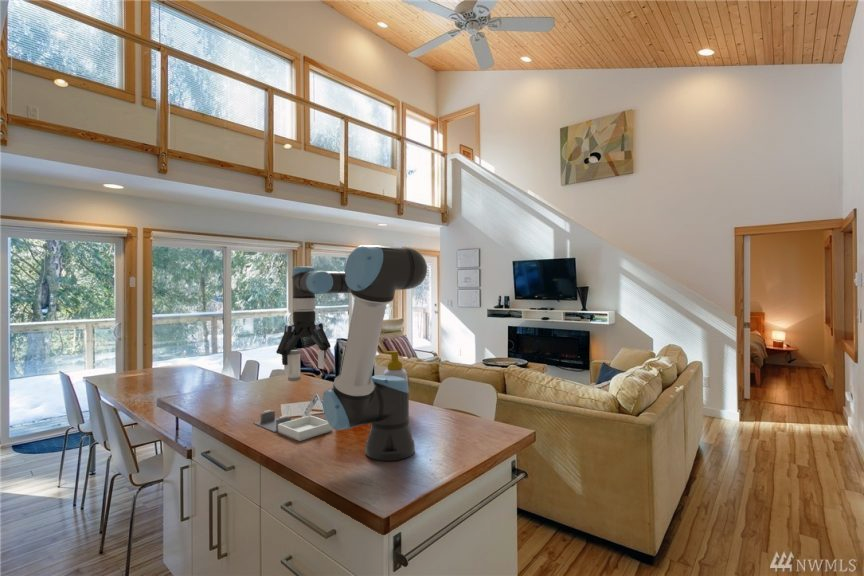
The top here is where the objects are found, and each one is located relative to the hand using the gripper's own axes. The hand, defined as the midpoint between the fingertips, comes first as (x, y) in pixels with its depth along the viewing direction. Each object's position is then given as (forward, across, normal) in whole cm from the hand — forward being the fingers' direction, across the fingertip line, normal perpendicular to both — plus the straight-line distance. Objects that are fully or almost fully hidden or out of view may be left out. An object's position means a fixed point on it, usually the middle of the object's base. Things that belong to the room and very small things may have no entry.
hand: (304, 371), depth 150 cm
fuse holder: (+21, +3, -15) cm, 26 cm away
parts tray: (+21, 0, 0) cm, 21 cm away
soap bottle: (+22, -34, +10) cm, 42 cm away
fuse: (+2, +4, 0) cm, 5 cm away
